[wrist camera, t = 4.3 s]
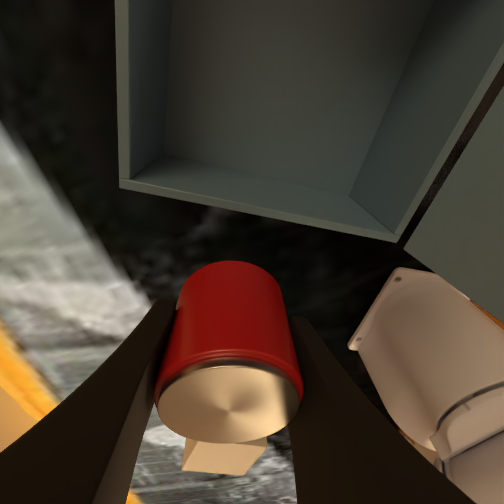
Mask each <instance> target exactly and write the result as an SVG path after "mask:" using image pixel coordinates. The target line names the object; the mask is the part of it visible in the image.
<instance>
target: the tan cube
mask: <svg viewBox="0 0 504 504" xmlns="http://www.w3.org/2000/svg"><path fill="white" fill-rule="evenodd" d="M266 448H267V439H266V437H263V438H260V439H256V440H252V441H247V442H241V443H229V444H218V443H207V442H201V441H196V440H192V439H189V438H186V443H185V450H184V457H183V464H182V470H187V471H198V472H210V473H222V474H234V475H244V474H245V472H246V471H247V470H248V469H249V468H250V467H251V465H252V464H253V463H254V462H255V461H256V460H257V459H258V457H259V456H260V455H261V454H262V453H263V452H264V450H265V449H266Z"/></svg>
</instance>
